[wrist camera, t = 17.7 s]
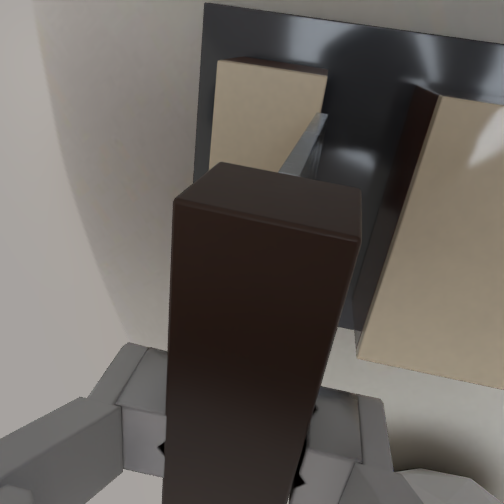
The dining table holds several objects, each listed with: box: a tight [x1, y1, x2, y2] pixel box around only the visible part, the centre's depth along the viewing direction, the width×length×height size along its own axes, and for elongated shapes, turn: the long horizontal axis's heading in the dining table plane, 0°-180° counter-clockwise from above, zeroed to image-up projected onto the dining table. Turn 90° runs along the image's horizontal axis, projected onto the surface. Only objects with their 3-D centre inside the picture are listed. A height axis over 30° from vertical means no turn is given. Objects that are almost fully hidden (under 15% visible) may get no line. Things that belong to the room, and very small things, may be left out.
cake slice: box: [209, 57, 328, 172], centre depth 19 cm, size 12×4×5 cm, turn 173°
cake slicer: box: [162, 113, 362, 504], centre depth 11 cm, size 10×2×9 cm, turn 173°
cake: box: [193, 3, 504, 390], centre depth 19 cm, size 16×20×6 cm
